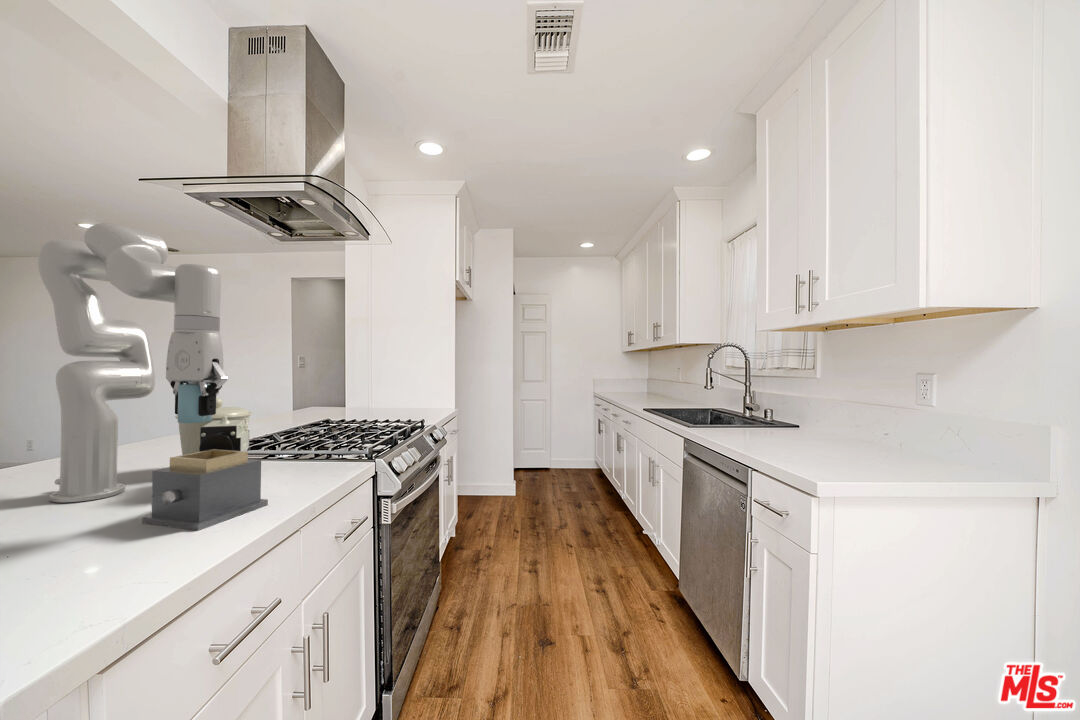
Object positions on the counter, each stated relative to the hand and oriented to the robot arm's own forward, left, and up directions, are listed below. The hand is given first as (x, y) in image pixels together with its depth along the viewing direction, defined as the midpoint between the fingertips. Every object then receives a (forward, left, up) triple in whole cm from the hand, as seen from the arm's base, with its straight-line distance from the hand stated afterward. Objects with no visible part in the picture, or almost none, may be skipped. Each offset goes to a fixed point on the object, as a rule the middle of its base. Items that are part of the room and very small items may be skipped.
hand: (195, 413), depth 92 cm
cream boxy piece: (-16, +21, -22) cm, 34 cm away
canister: (-33, +32, -22) cm, 51 cm away
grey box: (0, +3, -21) cm, 22 cm away
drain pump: (0, 0, -2) cm, 2 cm away
